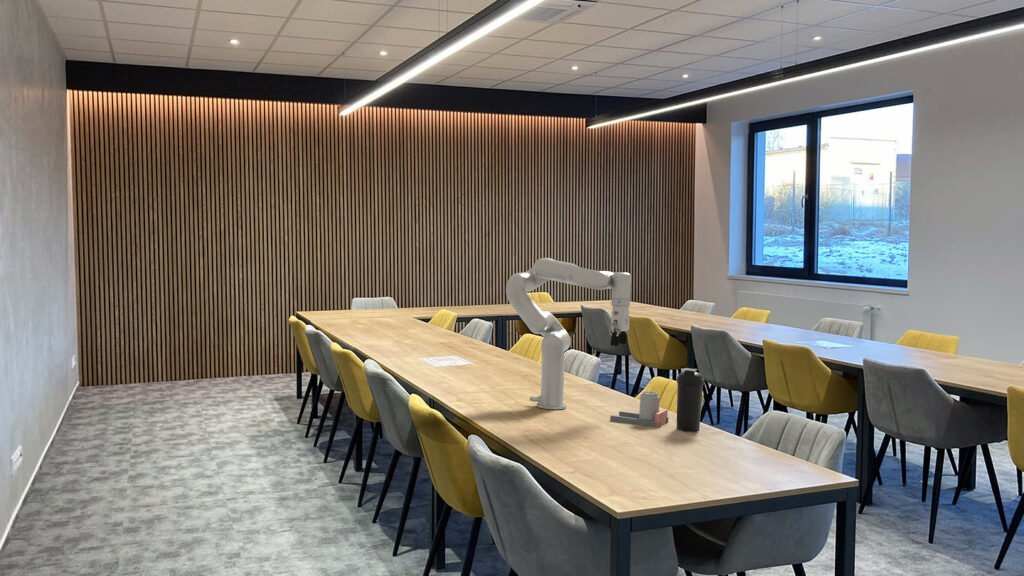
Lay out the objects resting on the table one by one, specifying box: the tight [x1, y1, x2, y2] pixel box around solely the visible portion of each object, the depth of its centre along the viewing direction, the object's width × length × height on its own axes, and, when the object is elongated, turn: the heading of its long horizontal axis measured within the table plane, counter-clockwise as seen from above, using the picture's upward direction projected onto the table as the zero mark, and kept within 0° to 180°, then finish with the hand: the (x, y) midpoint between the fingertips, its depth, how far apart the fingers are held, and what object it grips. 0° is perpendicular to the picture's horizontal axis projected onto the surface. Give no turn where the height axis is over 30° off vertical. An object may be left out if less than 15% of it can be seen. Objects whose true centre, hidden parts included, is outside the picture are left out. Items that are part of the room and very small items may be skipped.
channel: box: [609, 408, 670, 428], centre depth 335 cm, size 20×11×5 cm, turn 63°
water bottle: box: [676, 367, 705, 433], centre depth 324 cm, size 10×10×23 cm
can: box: [638, 391, 661, 421], centre depth 334 cm, size 8×8×12 cm
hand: (618, 344), depth 348 cm, fingers open, 9 cm apart
